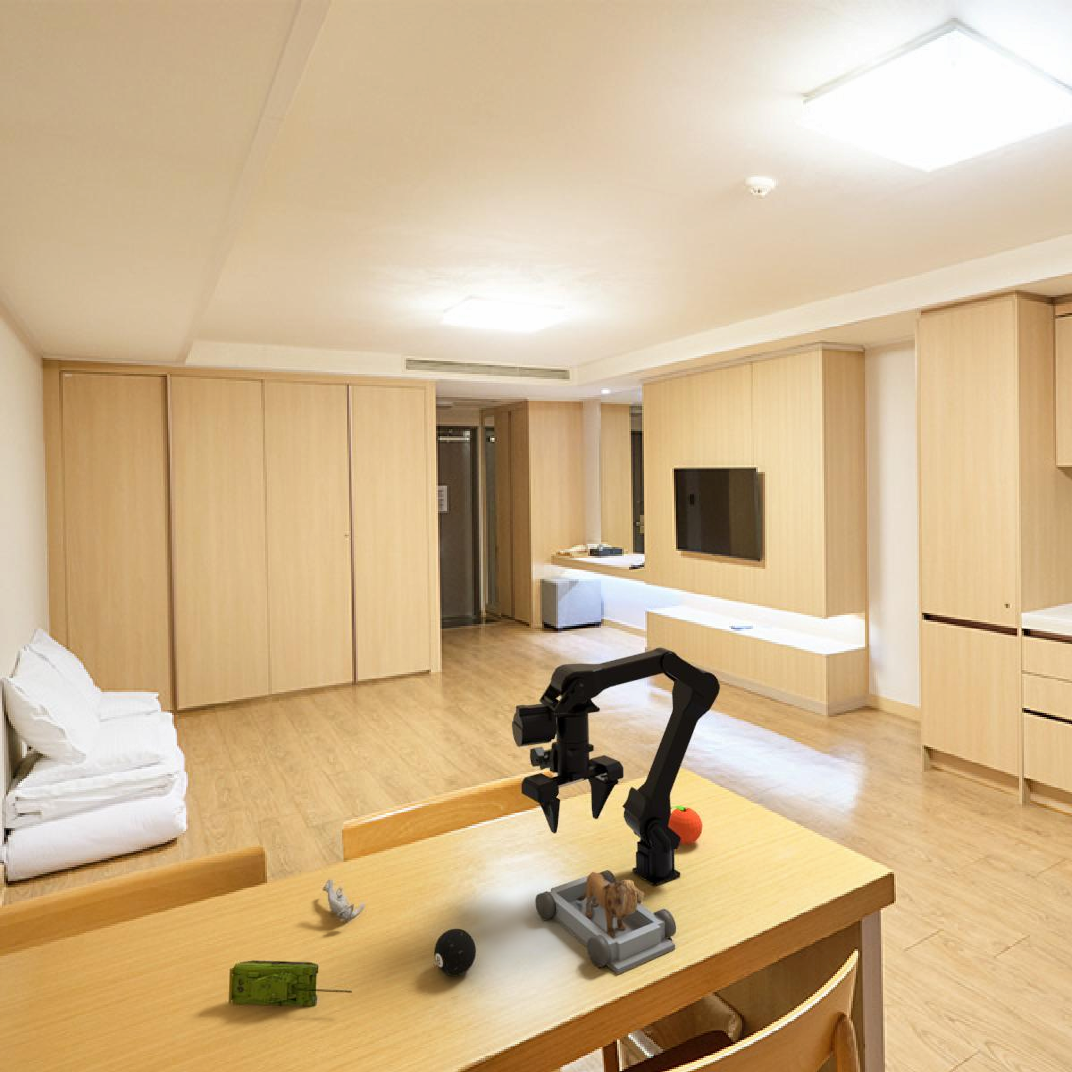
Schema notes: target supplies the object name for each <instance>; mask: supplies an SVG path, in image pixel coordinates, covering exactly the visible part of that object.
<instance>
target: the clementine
mask: <svg viewBox="0 0 1072 1072" xmlns="http://www.w3.org/2000/svg"><path fill="white" fill-rule="evenodd" d="M673 808H675V809H674V810H672V809H673ZM671 810H672V811H671V816H670V820H669V825H668V827H669V828H671V829H672V830H673V831H674V832H675V833H676V834H677V835H679V836H680V837H681V840H680V844H682V845H691V844H693V843H695V842H696V841H697V840H698V839H699V838H700V837H701V835H702V832H703V822H702V819H701V817H700V815H699V814H698V813H697V812H696V810H694V809H692V808H690V807H688V806H683V805H675V806H671Z"/></svg>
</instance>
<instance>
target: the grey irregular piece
mask: <svg viewBox="0 0 1072 1072" xmlns="http://www.w3.org/2000/svg"><path fill="white" fill-rule="evenodd" d="M334 881H335V880H334V879H332V878H331V879H330V878H329V879H328V880H327V881H326V882H325V883H326V884H325V885H324V886H323V887H322V891H323V892H325V893H327V901H328V905H329V910H330V911H332V912H333V913H334V914H336V916H337V917H338V918H339V917H340V918H341V919H343V920H344V921H345V922H346V924H348V922H350V920H351V919H354V918H356V916H358V915H359V914H360V912H362V910H363V909H364V908H365V906H366V903H365V902H361V904H360V906H359V907H357V909H355V910H354V906H355V903H353V904H350V905H349V902H347V900H348V897H347V895H346V894H345V893H343V894H341V893H342V892H343V890H344V889H343V887H342V886H339V887H338V888H337V890H336V888H335V887H334Z"/></svg>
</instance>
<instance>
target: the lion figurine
mask: <svg viewBox="0 0 1072 1072" xmlns="http://www.w3.org/2000/svg"><path fill="white" fill-rule="evenodd" d="M588 875H589V876H588ZM588 875H587V876H588V877H587V881H586V892H585V894H584V895H583V896H581V897H579V898H577V899H578V900H579V901H583V900H584V899H585V898H586V896H587V903H586V917H587V918H588V919H589V918H592V917H593V914H592V913H591V900H592V904H593V905H594V906H597V905H600V907H601V908H603V909H604V910H605V914H606V922H607V934H608V935H609V936H610V937H614V936H615V933H614V928H613V917H614V918H617V927H618V929H620V930H622V931H623V930H625V929H626V925H624V924H622V920H623V919H624V918H626V917H627V916H628V915H629V914H632V913H633V912H635V910H636V909H637V906H638V905H640V904H641V905H642V901H643V900H644V898H645V897H644V896H645V892H644V891H642V890H640V889H638V887H637V886H635V883H634V881H633V880H631V879H623V880H621V881H616V883H610V884H607V883H606V882H605V881H604V878H603V876H602V875H601V874H600V872H594V871H592V872H591V873H590V874H588ZM637 904H638V905H637Z"/></svg>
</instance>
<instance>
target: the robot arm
mask: <svg viewBox="0 0 1072 1072" xmlns="http://www.w3.org/2000/svg"><path fill="white" fill-rule="evenodd" d="M662 674H663V675H664V676H665V677H666V678H668V679H669V680H671V681H672V683H673V686H672V690H671V699H672V710H671V714H670V717H669V718H668V722H667V724H666V727H665V730H664V732H663V735H662V737H661V739H660V743H659V745H658V748H657V751H656V753H655V756H654V758H653V761H652V764H651V767H650V769H649V772H648V773H647V776H646V780H645V781H644V783H643V784H641V786H640V787H638V788H635V787H633V786H631V787H630V788H629V791H628V794H627V797H626V798H627V799H626V801H625V802H624V803H623V805H622V808H623V809H624V811H623V820H624V822H625V824H626V825H627V826H628V827H629V828H630V829H631V830H632V831H633V834H634V835H636V836H637V837H638V838H639V841H637V843H636V848H637V849H636V850H637V851H635V867H633V868H632V873H634V874H636V875H637V876H638V877H639V878H641V879H642V880H645V882H647V883H649V884H650V885H652V886H658V885H661V884H663V883H666V882H669V881H671V880H673V879H676V878H678V877H681V872H680V871H679V870H677V869H675V868H676V867H675V865H676V863H675V850H678V849H679V847H680V844H681V843H680V840H681V837H680V836H679V835H677V834H676V833H675V832H674V831H673V830H672V829H671V828H669V827H668V825H669V820H670V816H671V813H672V809H671V808H672V806H671V793H672V790H673V787H674V785H675V782H676V779H677V776H678V774H679V771H680V769H681V766H682V764H683V761H684V758H685V755H686V753H687V750H688V747H689V745H690V742H691V740H692V737H693V735H694V732H695V729H696V726H697V724H698V722H699V720H700V719H702V717H703V716H704V715H705V714H706V713H708V712H709V711H710V710H711V709H712V707H713V705H714V704H715V703H714V702H715V701H716V699H717V698H718V696H719V693H720V691H721V690H720V689H721V684H720V683H719V680H718V677H716V675H715V674H713V673H711V672H710V671H708V670H705V669H702V668H699V667H697V666H694V665H692V664H690V663H689V662H688V661H686V660H685V659H683V658H682V657H680V656H679V655H678V654H677V652H675V651H673V650H669V649H667V648H664V647H656V648H654V649H653V650H649V651H645V652H642V653H641V652H640V653H636V654H633V655H629V656H626V657H622V658H618V659H617V658H616V659H613V660H608V661H606V662H605V661H604V662H601V663H582V662H581V663H568V664H567V663H565V664H562V665H559V666H557V667H556V668H555V670H554V671H553V673H552V674H551V678H550V683H549V684H548V685H547V687H546V689H545V691H544V692H543V693H542V695H541V697H540V698H539V703H537V704H529V705H528V704H527V705H526V704H519V705H516V706H515V712H514V714H513V719H512V721H511V730H512V735H513V740H514V743H515V744H516V746H517V747H518V748H520V747H528V746H534V745H541V744H549V743H551V742H552V740H555V739H556V741H554V742H552V743H551V747H550V749H544V747H543V746H538V747H533V748H531V749H529V760H530V765H531V766H532V767H533V768H537V767H539V769H540V771H543V770H545V769H549V772H550V773H553V774H555V773H556V774H557V775H556V776H553V777H550V776H548V775H546V774H544V773H542V772H539V773H536V774H532V775H528V776H526V777H524V778H523V780H522V781H521V783H520V784H521V788H520V789H521V794H522V795H524V796H526V797H527V798H529V799H531V800H533V801H535V802H536V803H538V804H539V805H540V808H541V809H542V812H543V814H544V817H545V819H546V822H547V824H548V827H549V829H550V831H551V833H553V834H554V835H555V834H557V832H558V829H559V828H558V827H559V819H560V818H559V817H560V808H561V799H560V798H558V796H559V794H560V788H562V787H566V786H570V785H572V784H576V783H579V782H582V781H586V780H588V782H589V785H590V798H591V801H590V802H591V815H592V818H593V819H595V820H598V819H599V817H600V816H601V813H602V811H603V809H604V806H605V804H606V803H607V801H608V798H609V797H610V795H611V793H612V791H613V789H615V786H616V785H619V780H621V779H623V778H624V776H625V775H624V766H623V764H622V763H621V761H619V760H617V759H615V758H612V757H610V756H607V755H605V754H602V755H599V756H595V757H592V758H590V753H591V752H594V751H595V749H594V748H595V747H594V744H591V743H590V731H589V728H590V727H589V726H590V725H589V714H591V713H592V714H593V713H594V714H595V713H599V712H600V711H601V708H600V707H599V706H598V705H596V704H595V703H594V702H593V700H592V699H594V698H596V697H598V696H599V695H600V694H601V693H602V692H603V691H605V690H607V689H610V688H611V687H616V686H620V685H624V684H627V683H632V682H635V681H639V680H643V679H646V678H650V677H653V676H657V675H662ZM559 697H560V699H559V700H558V698H559Z"/></svg>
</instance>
